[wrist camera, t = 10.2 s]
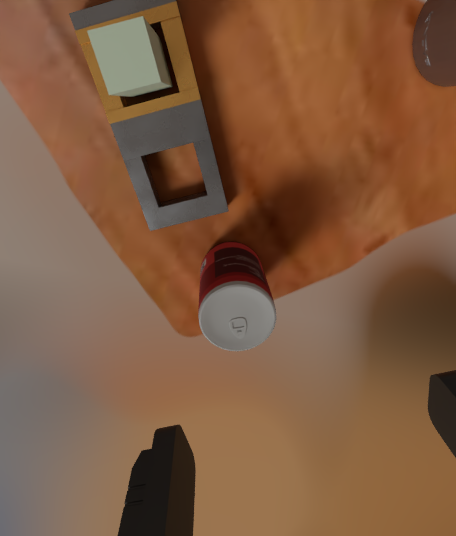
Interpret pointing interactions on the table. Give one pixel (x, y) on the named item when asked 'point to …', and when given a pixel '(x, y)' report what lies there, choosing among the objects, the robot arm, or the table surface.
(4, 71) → the table surface
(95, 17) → the grey yellow flat board
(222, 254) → the canned food
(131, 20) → the sage block
